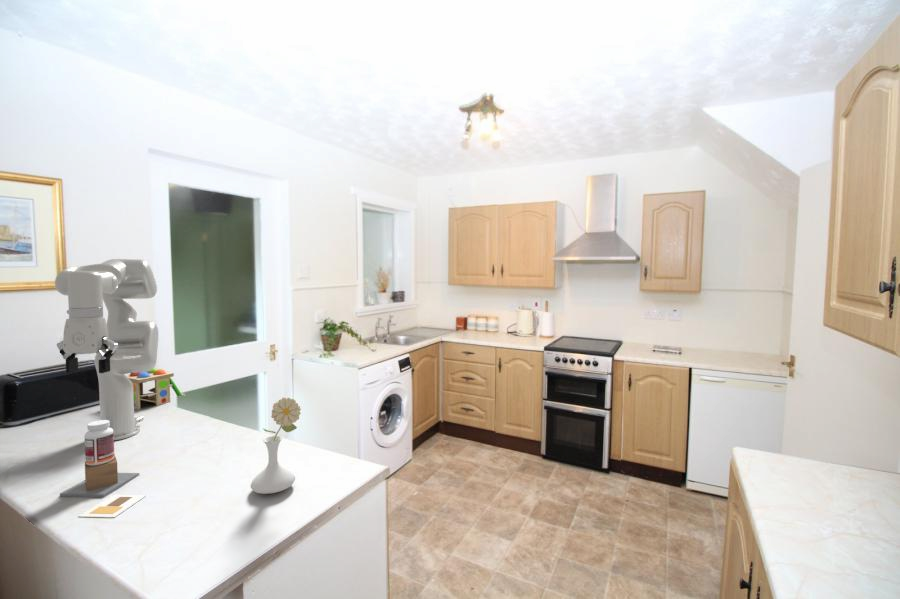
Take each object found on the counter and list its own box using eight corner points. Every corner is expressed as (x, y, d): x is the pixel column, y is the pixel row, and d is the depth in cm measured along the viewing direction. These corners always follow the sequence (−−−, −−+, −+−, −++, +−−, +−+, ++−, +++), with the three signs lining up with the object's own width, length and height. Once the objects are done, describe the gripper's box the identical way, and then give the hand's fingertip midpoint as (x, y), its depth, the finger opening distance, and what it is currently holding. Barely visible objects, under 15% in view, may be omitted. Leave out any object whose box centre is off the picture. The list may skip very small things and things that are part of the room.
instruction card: (112, 495, 110) (112, 494, 110) (146, 496, 110) (146, 495, 110) (78, 516, 100) (78, 516, 100) (114, 517, 100) (114, 516, 100)
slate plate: (99, 475, 122) (99, 472, 122) (139, 475, 121) (139, 473, 121) (59, 496, 110) (59, 493, 110) (104, 497, 109) (104, 494, 109)
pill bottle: (117, 455, 119) (116, 417, 119) (111, 463, 114) (110, 424, 113) (89, 459, 117) (88, 420, 116) (82, 468, 111) (80, 427, 111)
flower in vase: (249, 502, 107) (248, 407, 106) (251, 482, 118) (249, 395, 117) (303, 492, 113) (301, 401, 111) (300, 473, 123) (299, 390, 122)
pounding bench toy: (177, 398, 199) (176, 361, 198) (195, 402, 193) (194, 364, 192) (121, 412, 179) (120, 371, 178) (139, 417, 172) (138, 374, 171)
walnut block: (85, 482, 116) (84, 461, 115) (115, 474, 120) (114, 454, 120) (86, 491, 111) (86, 469, 111) (117, 482, 115) (117, 461, 115)
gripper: (44, 314, 117) (46, 374, 118) (104, 315, 116) (106, 375, 117) (69, 312, 124) (71, 368, 125) (125, 312, 124) (127, 369, 125)
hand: (88, 372), depth 121 cm, fingers open, 9 cm apart
